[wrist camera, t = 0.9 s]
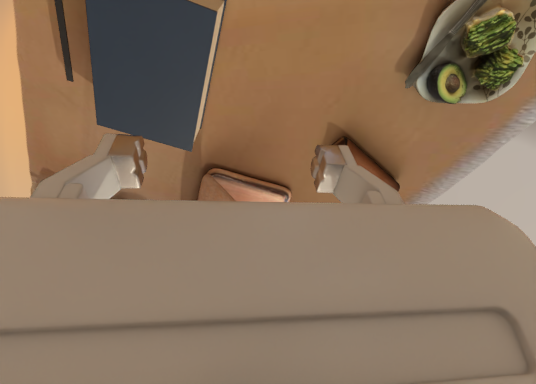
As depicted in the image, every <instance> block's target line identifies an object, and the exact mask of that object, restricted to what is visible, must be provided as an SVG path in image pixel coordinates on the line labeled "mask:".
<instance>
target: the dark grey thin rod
mask: <svg viewBox="0 0 536 384" xmlns="http://www.w3.org/2000/svg"><path fill="white" fill-rule="evenodd" d="M55 6H56V12H57V19H58V25H59V31H60V38H61V44H62V51H63V57H64V63H65V70H66V76H67V80H69V81H72V82H73V76H72V69H71V62H70V55H69V48H68V41H67V34H66V27H65V20H64V12H63V5H62V0H55Z"/></svg>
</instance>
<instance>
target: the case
mask: <svg viewBox="0 0 536 384" xmlns="http://www.w3.org/2000/svg"><path fill="white" fill-rule="evenodd" d="M290 199H291V192H290V190H289V189H287V188H285V187H283V186H280V185H276V184H272V183H269V182H265V181H261V180H257V179H254V178H250V177H247V176H244V175H240V174H237V173H234V172H230V171H227V170H223V169H219V168H213V169H211V170H209V171H208V173H207V174H206V175H204V176H203V178H202V181H201V186H200V190H199V195H198V199H197V201H249V202H289V201H290Z"/></svg>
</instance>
